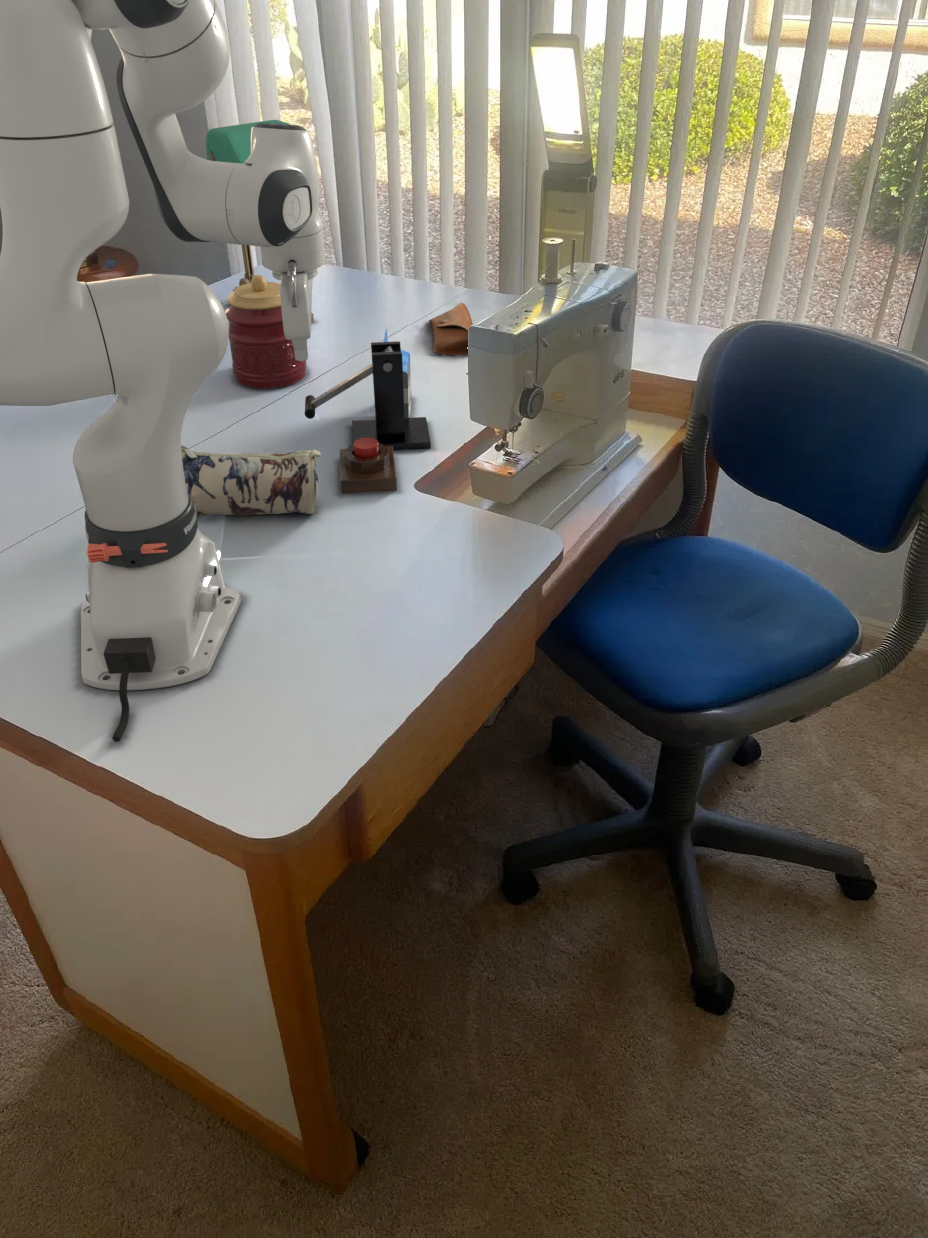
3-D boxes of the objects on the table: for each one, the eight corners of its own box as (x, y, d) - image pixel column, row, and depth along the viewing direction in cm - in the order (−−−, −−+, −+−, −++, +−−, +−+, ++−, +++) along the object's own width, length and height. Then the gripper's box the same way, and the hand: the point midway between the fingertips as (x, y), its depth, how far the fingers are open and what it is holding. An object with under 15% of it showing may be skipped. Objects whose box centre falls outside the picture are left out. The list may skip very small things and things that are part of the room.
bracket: (353, 453, 150) (346, 361, 141) (352, 427, 157) (345, 338, 148) (430, 449, 151) (428, 357, 142) (426, 423, 158) (423, 335, 149)
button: (379, 458, 140) (378, 448, 139) (354, 460, 140) (353, 449, 139) (378, 447, 143) (377, 436, 142) (354, 448, 143) (353, 437, 142)
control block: (397, 491, 140) (395, 466, 138) (341, 494, 140) (339, 469, 137) (393, 458, 148) (392, 434, 146) (340, 461, 147) (338, 437, 145)
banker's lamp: (279, 292, 208) (258, 111, 187) (333, 319, 195) (317, 128, 174) (213, 309, 200) (183, 121, 179) (265, 338, 187) (239, 140, 166)
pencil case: (163, 526, 133) (149, 462, 127) (178, 494, 139) (165, 432, 134) (322, 526, 133) (316, 462, 127) (330, 495, 139) (324, 433, 133)
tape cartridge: (410, 421, 158) (407, 349, 151) (386, 422, 158) (382, 349, 151) (412, 398, 165) (409, 328, 158) (389, 398, 165) (385, 328, 158)
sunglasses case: (425, 319, 194) (442, 289, 191) (455, 335, 197) (472, 306, 194) (433, 353, 180) (451, 322, 177) (465, 370, 183) (483, 340, 179)
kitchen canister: (220, 374, 174) (204, 274, 163) (281, 355, 181) (270, 258, 170) (259, 396, 166) (245, 293, 155) (321, 376, 173) (312, 276, 162)
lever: (310, 422, 148) (301, 410, 146) (310, 407, 152) (301, 395, 151) (400, 368, 144) (391, 354, 143) (397, 354, 148) (389, 341, 147)
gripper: (315, 274, 127) (324, 373, 135) (315, 228, 143) (323, 319, 151) (266, 275, 126) (278, 375, 135) (272, 229, 142) (282, 321, 151)
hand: (302, 345), depth 143 cm, fingers open, 8 cm apart
